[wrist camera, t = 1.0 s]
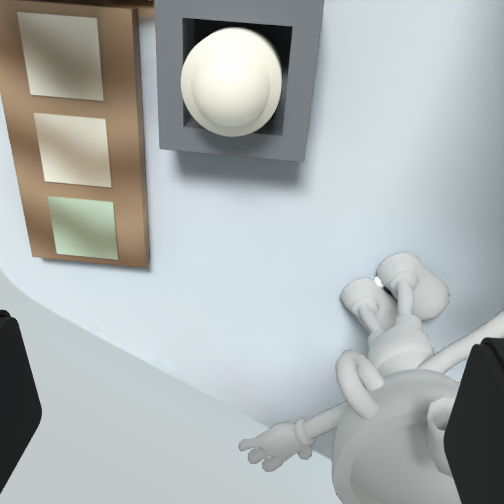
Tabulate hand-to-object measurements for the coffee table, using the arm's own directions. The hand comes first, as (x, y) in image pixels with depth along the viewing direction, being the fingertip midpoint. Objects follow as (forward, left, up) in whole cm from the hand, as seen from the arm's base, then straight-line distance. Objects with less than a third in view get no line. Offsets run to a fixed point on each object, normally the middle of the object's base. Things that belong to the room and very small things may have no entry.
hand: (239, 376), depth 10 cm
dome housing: (-2, -3, -25) cm, 25 cm away
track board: (+4, -14, -25) cm, 28 cm away
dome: (-2, -3, -23) cm, 23 cm away
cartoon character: (+12, +8, -25) cm, 29 cm away
